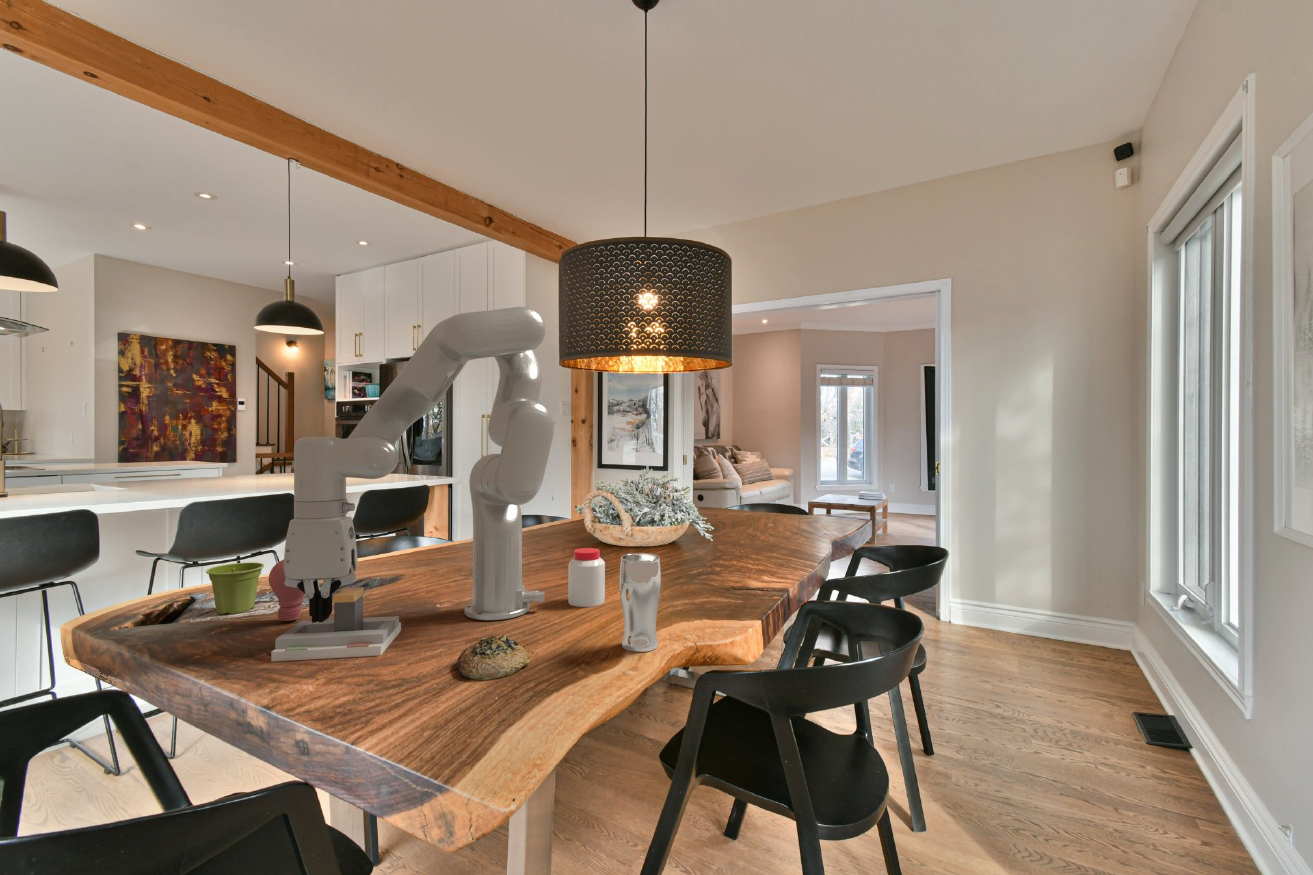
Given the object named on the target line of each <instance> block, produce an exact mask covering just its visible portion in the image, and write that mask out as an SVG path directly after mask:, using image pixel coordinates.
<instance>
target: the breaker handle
mask: <svg viewBox="0 0 1313 875" xmlns="http://www.w3.org/2000/svg"><path fill="white" fill-rule="evenodd" d="M364 591H365V586H359V587H343V588H341V589H340V590H339V591H337V592H336V593H335V594H332V604H333V619H334V632H339V631H360V630H363V618H364V593H365V592H364Z"/></svg>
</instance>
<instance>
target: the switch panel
mask: <svg viewBox="0 0 1313 875" xmlns="http://www.w3.org/2000/svg"><path fill="white" fill-rule="evenodd" d="M401 631H402V622H400V616H399V615H397V616H392V615H391V616H376V617H375V616H374V617H373V616H372V617H371V616H370V617H363V630H360V631H339V632H334V618H331V619H329V618H328V619H326V620H325V621H324V622H318V621H317V622H316V623H312V619H308V620H300V621H299V622H298V623H296V624H295V625H294V626H292V627H291V628H289V629H288V630H287V631H285V632H284V633H282V634H281V635H279V636H278V637H276V639H275V640H274V641H275V645H274V647H275V648H274V649H273V650H272V651H271V652H270V654H271V657H270V658H271V659H270V660H271V662H288V661H302V660H303V661H305V660H306V661H307V660H321V659H322V660H323V659H341V658H357V657H361V658H362V657H374V656H375V657H376V656H377V657H379V656H382V655H383V653H384V652H385V651H386V650H387V649H388V647H390V645H391V643H392V642H394V640H395V638H397V636H398V635H399V634H400V632H401Z"/></svg>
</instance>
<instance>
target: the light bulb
mask: <svg viewBox="0 0 1313 875" xmlns="http://www.w3.org/2000/svg"><path fill="white" fill-rule="evenodd" d="M285 578H286V577H285V575H284V558H283V559H281V560H280V561H278V562H277V563H275V564H274V565H273V567H272V568H271V569H270V572H269V575H268V584H269V587H270V588H271V590H272V593H274V595H275V597H276V598H277V599H278V607H279V608H278V609H277V617H278V619H277V620H279V621H281V622H284V621H285V622H292V621H294V620H297V619H299V618H300V617H301V609H302V604H303V603H304V601H305V599H304V597H305V596H306V594H304V593H303V592H302V591H301V590H300V589H299V588H294V587H289V586H285V584H284V582H285Z"/></svg>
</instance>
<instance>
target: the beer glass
mask: <svg viewBox="0 0 1313 875" xmlns="http://www.w3.org/2000/svg"><path fill="white" fill-rule="evenodd" d="M660 562H661V559H660V555H658V554H654V553H648V552H647V553H646V552H634V553H627V554H626V553H625V554H623V555H621V556H620V568H619V595H620V601H621V602H620V603H621V607H622V608H621V609H622V613H623V621H624V622H623V623H624V624H623V625H624V629H623V630H624V631H623V637H622V642H621V646H622V648H623V650H626V651H627V652H632V653H645V652H646V653H648V652H651V651H654V650H656V649H657V648H658V647H659V643H658V635H657V630H656V624H657V623H656V622H657V615H658V609H659V602H660V597H661V588H662V586H661V585H662V580H661V578H662V576H661V574H662V573H661V563H660Z"/></svg>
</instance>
